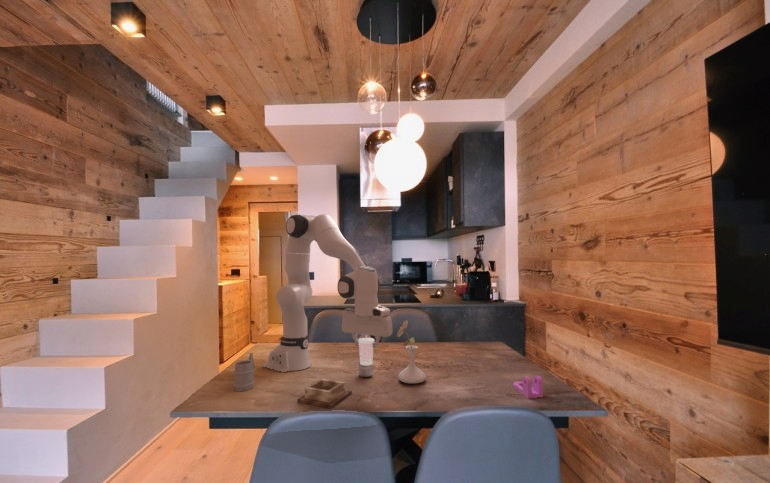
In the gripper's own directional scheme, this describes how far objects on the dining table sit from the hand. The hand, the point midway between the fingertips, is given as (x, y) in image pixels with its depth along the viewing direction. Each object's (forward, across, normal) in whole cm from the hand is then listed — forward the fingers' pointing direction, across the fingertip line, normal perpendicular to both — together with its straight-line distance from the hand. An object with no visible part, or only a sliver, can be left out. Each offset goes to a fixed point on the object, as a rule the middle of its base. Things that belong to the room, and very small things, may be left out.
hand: (366, 346), depth 132 cm
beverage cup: (+7, 0, 0) cm, 7 cm away
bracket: (+17, +55, +24) cm, 62 cm away
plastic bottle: (+17, -8, +16) cm, 25 cm away
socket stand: (+17, -11, -10) cm, 23 cm away
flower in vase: (+17, +12, +17) cm, 27 cm away
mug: (+18, -47, -12) cm, 52 cm away
